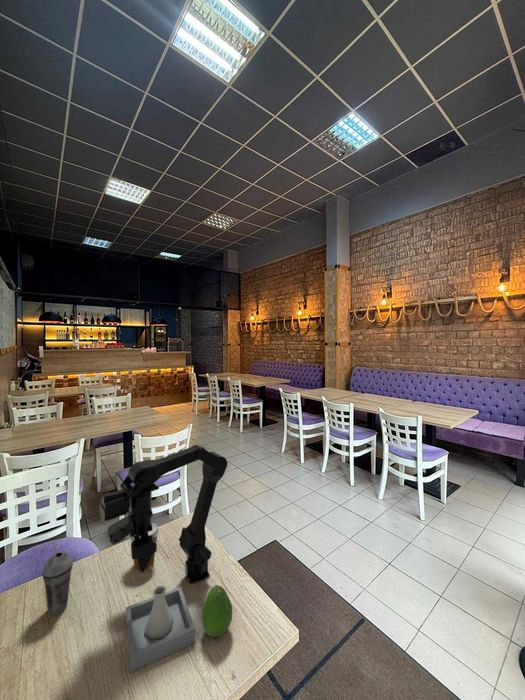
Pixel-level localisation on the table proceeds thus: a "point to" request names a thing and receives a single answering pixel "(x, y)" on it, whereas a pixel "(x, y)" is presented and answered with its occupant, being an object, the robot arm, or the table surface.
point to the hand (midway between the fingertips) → (140, 561)
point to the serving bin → (152, 650)
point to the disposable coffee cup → (154, 533)
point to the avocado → (216, 612)
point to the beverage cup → (57, 581)
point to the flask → (159, 616)
